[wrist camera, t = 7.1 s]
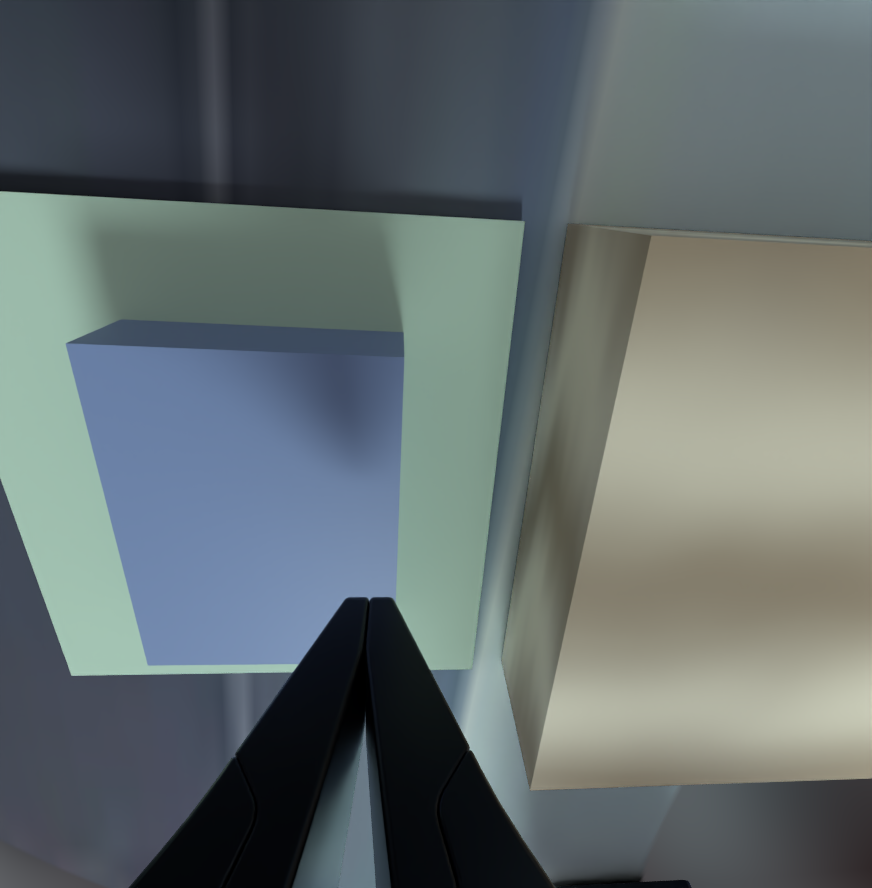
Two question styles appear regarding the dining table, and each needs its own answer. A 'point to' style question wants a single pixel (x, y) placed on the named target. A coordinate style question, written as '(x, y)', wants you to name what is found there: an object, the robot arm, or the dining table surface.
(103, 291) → the mat
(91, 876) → the dining table surface
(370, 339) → the periwinkle blue block
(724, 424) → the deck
